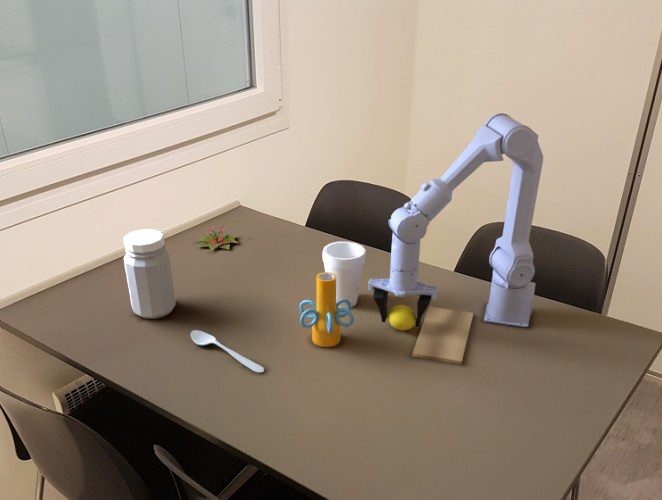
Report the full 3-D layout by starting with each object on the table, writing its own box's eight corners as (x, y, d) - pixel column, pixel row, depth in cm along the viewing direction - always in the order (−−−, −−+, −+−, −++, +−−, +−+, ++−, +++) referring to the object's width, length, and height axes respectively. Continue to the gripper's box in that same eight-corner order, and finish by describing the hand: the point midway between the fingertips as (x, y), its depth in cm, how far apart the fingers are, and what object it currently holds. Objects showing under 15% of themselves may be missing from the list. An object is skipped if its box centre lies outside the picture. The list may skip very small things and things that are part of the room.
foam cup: (359, 313, 156) (361, 261, 149) (319, 309, 158) (319, 257, 151) (366, 293, 164) (367, 243, 157) (327, 290, 166) (327, 239, 159)
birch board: (473, 316, 155) (473, 312, 155) (461, 364, 139) (462, 361, 139) (428, 309, 158) (428, 306, 158) (412, 356, 142) (412, 353, 141)
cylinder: (362, 334, 149) (364, 271, 141) (343, 359, 141) (344, 294, 133) (311, 322, 153) (310, 260, 145) (289, 345, 145) (287, 281, 137)
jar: (123, 315, 156) (110, 241, 146) (148, 296, 163) (137, 224, 154) (160, 324, 153) (149, 249, 143) (184, 303, 160) (175, 231, 151)
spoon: (200, 332, 150) (199, 326, 149) (270, 367, 138) (270, 360, 138) (185, 340, 147) (184, 334, 146) (256, 377, 136) (255, 370, 135)
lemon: (420, 327, 151) (422, 305, 148) (409, 338, 147) (411, 316, 144) (392, 318, 154) (393, 297, 152) (380, 329, 151) (381, 307, 148)
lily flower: (189, 251, 184) (187, 235, 182) (203, 233, 194) (201, 217, 192) (233, 254, 182) (231, 238, 180) (244, 236, 192) (243, 220, 190)
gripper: (365, 269, 141) (363, 326, 149) (436, 279, 138) (431, 337, 145) (373, 255, 147) (371, 311, 154) (442, 263, 144) (436, 320, 151)
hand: (400, 322), depth 150 cm, fingers closed on lemon, 7 cm apart
